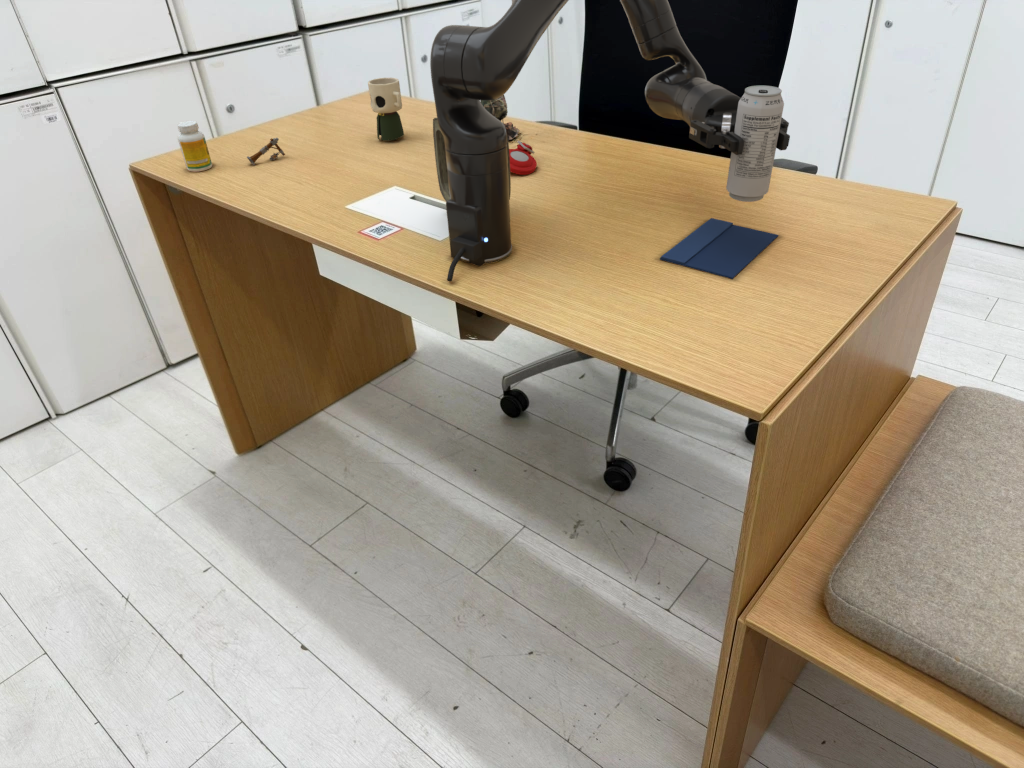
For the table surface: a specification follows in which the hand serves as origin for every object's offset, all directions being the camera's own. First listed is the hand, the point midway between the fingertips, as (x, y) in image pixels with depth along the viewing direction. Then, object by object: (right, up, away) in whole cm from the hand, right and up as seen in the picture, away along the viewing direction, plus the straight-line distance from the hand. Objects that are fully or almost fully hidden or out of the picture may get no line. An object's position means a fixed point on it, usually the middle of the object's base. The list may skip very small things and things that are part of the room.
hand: (763, 145), depth 99 cm
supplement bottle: (-104, +14, +57) cm, 119 cm away
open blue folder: (-2, -12, +14) cm, 18 cm away
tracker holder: (-34, +12, +50) cm, 61 cm away
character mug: (-64, +24, +69) cm, 97 cm away
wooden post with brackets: (-90, +16, +59) cm, 109 cm away
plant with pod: (-38, +24, +67) cm, 80 cm away
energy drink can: (0, -5, +7) cm, 9 cm away
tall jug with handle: (-41, -5, +27) cm, 50 cm away
